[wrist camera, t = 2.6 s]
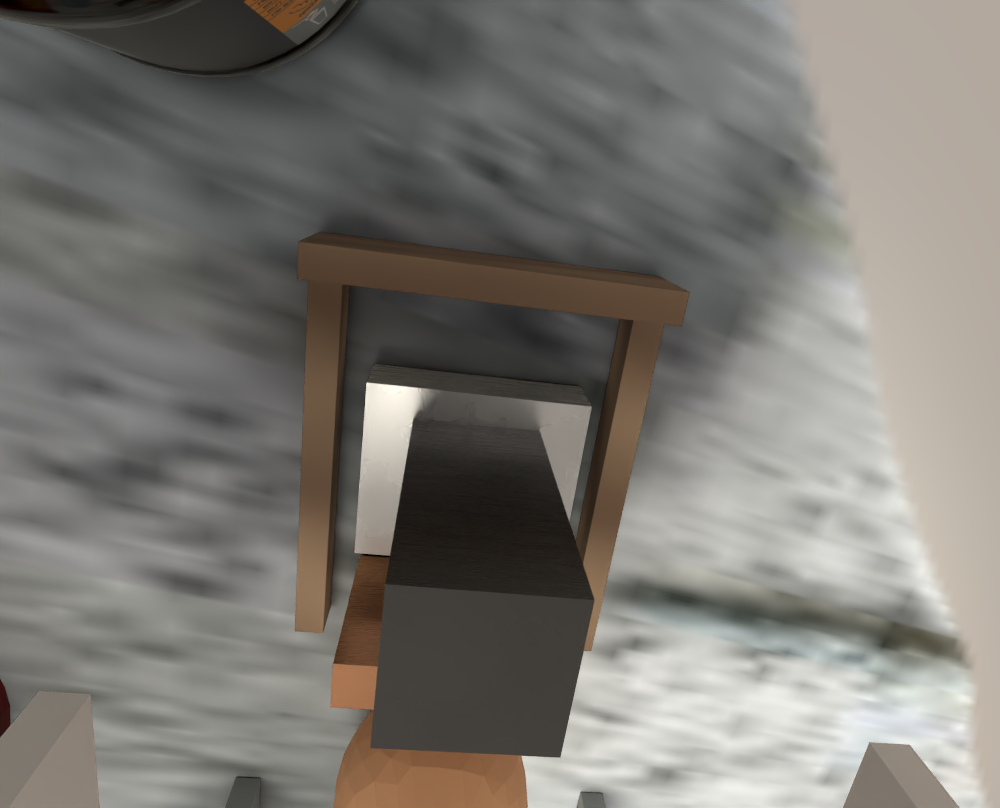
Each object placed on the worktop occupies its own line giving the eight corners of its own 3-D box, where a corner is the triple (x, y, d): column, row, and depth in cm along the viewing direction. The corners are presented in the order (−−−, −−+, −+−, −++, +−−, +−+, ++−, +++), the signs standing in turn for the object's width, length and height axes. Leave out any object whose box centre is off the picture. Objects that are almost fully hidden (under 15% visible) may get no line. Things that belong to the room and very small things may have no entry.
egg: (529, 645, 26) (563, 869, 18) (502, 771, 28) (522, 1022, 20) (360, 630, 25) (313, 856, 17) (346, 760, 28) (297, 1017, 19)
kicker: (374, 363, 22) (304, 530, 12) (580, 386, 22) (681, 562, 12) (357, 591, 24) (290, 880, 15) (539, 605, 25) (594, 889, 15)
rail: (320, 231, 20) (298, 241, 17) (659, 276, 21) (689, 292, 19) (303, 605, 25) (284, 660, 22) (583, 625, 26) (599, 680, 23)
